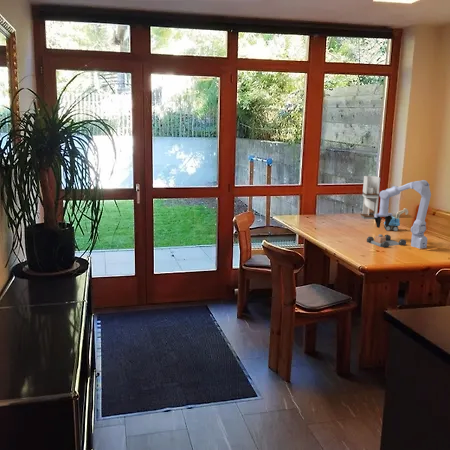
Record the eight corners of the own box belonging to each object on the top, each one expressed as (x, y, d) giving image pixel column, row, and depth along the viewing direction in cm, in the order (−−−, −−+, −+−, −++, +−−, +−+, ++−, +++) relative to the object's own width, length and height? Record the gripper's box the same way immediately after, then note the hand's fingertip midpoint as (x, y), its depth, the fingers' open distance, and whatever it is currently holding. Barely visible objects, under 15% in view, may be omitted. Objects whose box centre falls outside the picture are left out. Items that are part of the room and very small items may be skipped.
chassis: (406, 246, 322) (406, 239, 321) (382, 249, 314) (383, 242, 313) (388, 240, 336) (389, 234, 335) (366, 243, 327) (366, 236, 326)
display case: (360, 216, 422) (364, 175, 415) (373, 216, 422) (376, 176, 414) (363, 218, 411) (367, 177, 403) (376, 219, 410) (380, 177, 403)
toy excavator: (407, 232, 364) (409, 209, 360) (384, 230, 367) (386, 208, 363) (405, 229, 372) (407, 207, 368) (382, 228, 375) (384, 206, 371)
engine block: (385, 244, 321) (386, 235, 320) (380, 245, 320) (380, 235, 318) (379, 242, 326) (380, 233, 325) (374, 243, 324) (375, 234, 323)
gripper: (387, 206, 339) (386, 225, 342) (371, 207, 333) (370, 226, 335) (395, 207, 332) (393, 227, 335) (379, 209, 326) (377, 228, 329)
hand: (382, 227), depth 335 cm, fingers open, 7 cm apart
